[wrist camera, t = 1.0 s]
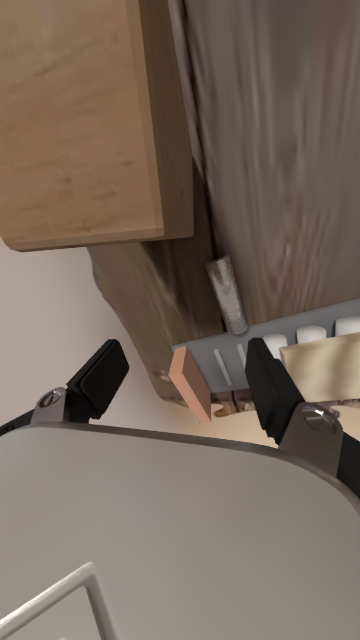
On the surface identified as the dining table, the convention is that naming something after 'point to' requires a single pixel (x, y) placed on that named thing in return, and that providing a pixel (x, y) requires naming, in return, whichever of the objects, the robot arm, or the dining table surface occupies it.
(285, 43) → the dining table surface
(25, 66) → the wooden block
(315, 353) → the slab
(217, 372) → the roller bed
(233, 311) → the roller
